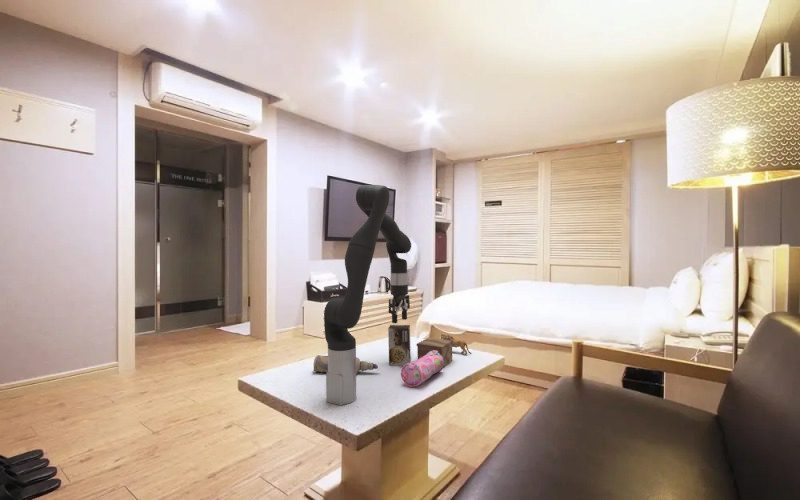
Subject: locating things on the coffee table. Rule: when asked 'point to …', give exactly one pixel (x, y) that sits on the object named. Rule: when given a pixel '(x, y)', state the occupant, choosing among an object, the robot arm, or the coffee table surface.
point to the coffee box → (399, 345)
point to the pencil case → (422, 369)
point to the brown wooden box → (436, 348)
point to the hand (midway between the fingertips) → (399, 321)
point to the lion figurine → (456, 343)
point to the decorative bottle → (322, 364)
